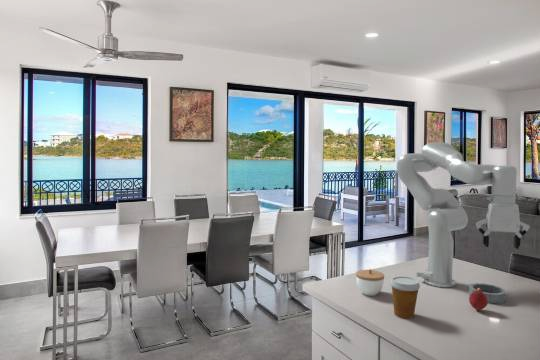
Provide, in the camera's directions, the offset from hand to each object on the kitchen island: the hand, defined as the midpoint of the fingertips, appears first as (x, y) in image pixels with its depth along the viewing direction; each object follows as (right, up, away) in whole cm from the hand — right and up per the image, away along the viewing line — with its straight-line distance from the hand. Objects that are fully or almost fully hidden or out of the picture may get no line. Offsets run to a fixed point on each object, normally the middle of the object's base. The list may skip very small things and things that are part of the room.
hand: (501, 247), depth 143 cm
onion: (-11, -22, -4) cm, 25 cm away
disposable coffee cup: (-38, -22, -8) cm, 45 cm away
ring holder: (-1, -21, +8) cm, 22 cm away
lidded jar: (-45, -20, +12) cm, 50 cm away
